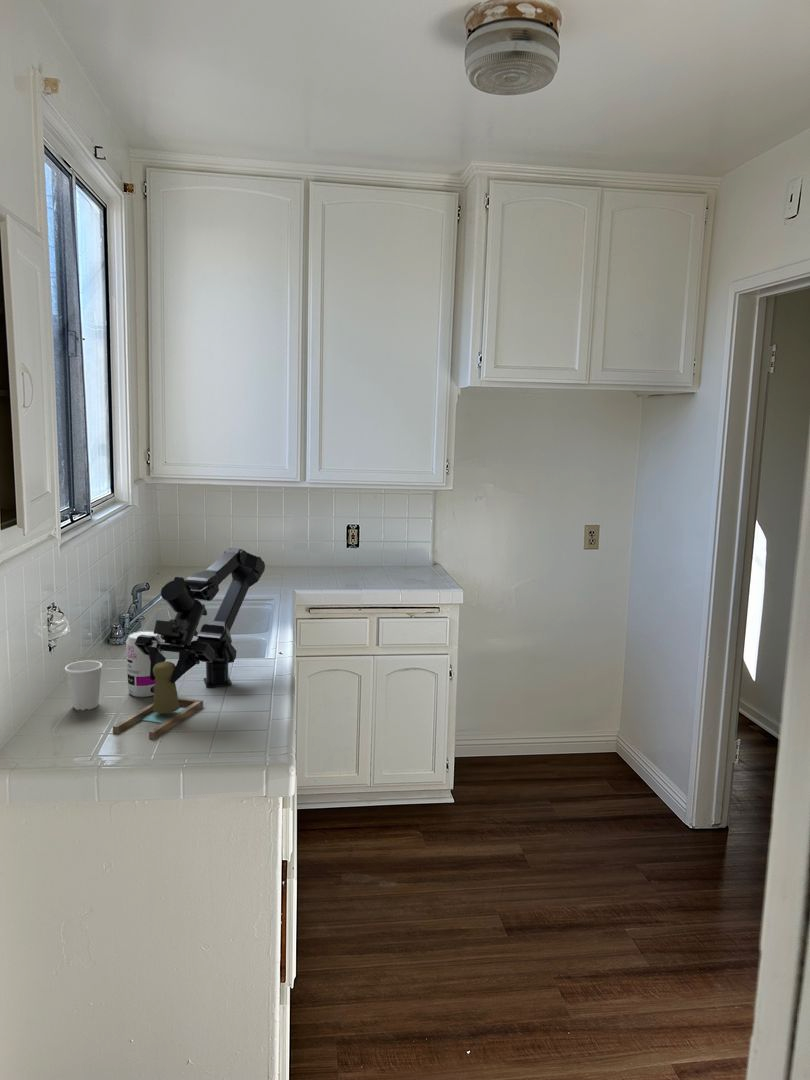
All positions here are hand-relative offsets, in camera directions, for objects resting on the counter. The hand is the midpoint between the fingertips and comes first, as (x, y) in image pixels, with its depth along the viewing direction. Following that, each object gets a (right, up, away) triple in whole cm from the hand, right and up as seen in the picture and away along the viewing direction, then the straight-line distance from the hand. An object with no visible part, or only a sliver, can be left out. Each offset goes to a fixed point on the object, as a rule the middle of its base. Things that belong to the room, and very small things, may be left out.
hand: (161, 681), depth 184 cm
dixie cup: (-21, -7, +8) cm, 23 cm away
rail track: (0, -9, 0) cm, 9 cm away
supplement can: (-9, -6, +18) cm, 21 cm away
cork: (0, -7, +3) cm, 7 cm away
